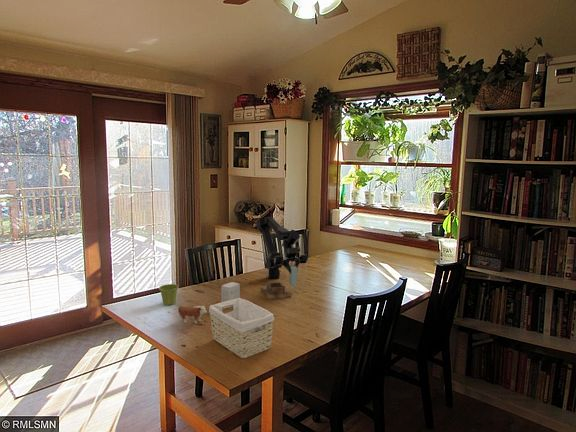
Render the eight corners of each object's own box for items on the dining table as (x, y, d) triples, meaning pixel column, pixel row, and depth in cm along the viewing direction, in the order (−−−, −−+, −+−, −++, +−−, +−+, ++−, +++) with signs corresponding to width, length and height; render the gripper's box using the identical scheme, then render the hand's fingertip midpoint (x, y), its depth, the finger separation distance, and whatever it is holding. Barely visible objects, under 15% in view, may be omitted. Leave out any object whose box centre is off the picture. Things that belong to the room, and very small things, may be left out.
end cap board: (268, 299, 212) (268, 290, 211) (261, 288, 229) (261, 280, 228) (290, 297, 215) (290, 289, 214) (282, 287, 232) (282, 279, 231)
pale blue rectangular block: (291, 285, 221) (292, 268, 220) (289, 283, 226) (289, 265, 225) (297, 285, 222) (297, 267, 221) (294, 282, 227) (294, 265, 226)
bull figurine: (205, 325, 178) (205, 307, 177) (177, 323, 180) (176, 305, 179) (209, 321, 182) (209, 304, 181) (181, 319, 184) (181, 302, 183)
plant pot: (171, 307, 198) (170, 290, 197) (155, 305, 201) (155, 288, 200) (182, 301, 207) (182, 285, 205) (167, 299, 210) (166, 283, 209)
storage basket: (275, 349, 157) (276, 313, 154) (241, 362, 146) (241, 323, 144) (240, 329, 174) (240, 296, 172) (207, 340, 164) (207, 305, 162)
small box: (232, 301, 208) (231, 281, 207) (240, 303, 205) (240, 283, 204) (221, 305, 202) (220, 285, 200) (229, 308, 199) (229, 287, 197)
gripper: (275, 241, 223) (279, 266, 214) (307, 240, 228) (313, 264, 219) (272, 252, 232) (276, 276, 223) (303, 251, 237) (308, 274, 228)
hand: (293, 272), depth 223 cm, fingers closed on pale blue rectangular block, 3 cm apart
